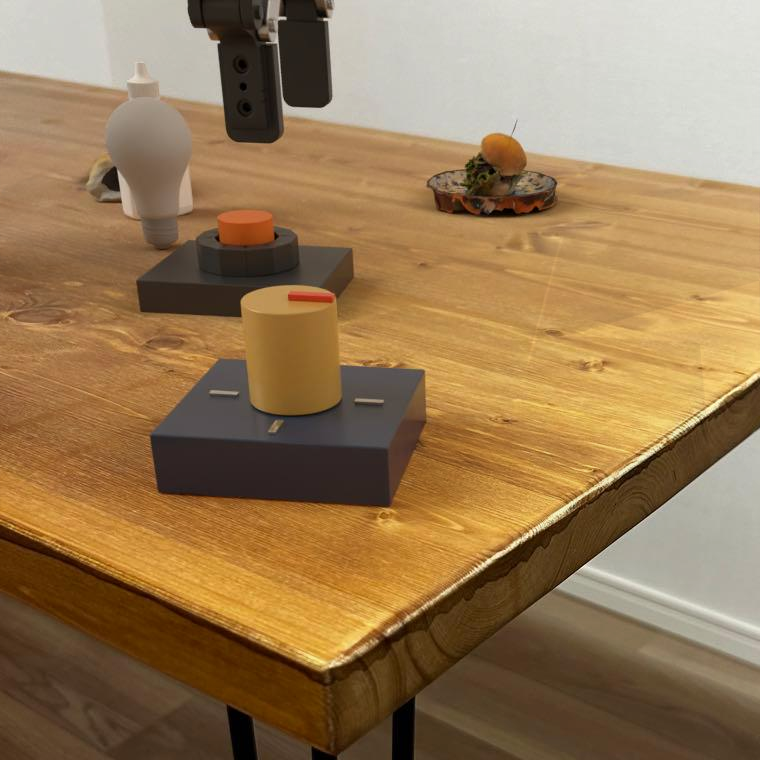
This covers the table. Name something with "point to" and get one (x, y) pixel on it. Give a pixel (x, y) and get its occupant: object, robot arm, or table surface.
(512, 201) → the burger
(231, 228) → the button
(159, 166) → the lightbulb
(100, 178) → the pastry
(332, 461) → the dial panel
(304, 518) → the table surface
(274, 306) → the dial
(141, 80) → the plastic bottle
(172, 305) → the button box
